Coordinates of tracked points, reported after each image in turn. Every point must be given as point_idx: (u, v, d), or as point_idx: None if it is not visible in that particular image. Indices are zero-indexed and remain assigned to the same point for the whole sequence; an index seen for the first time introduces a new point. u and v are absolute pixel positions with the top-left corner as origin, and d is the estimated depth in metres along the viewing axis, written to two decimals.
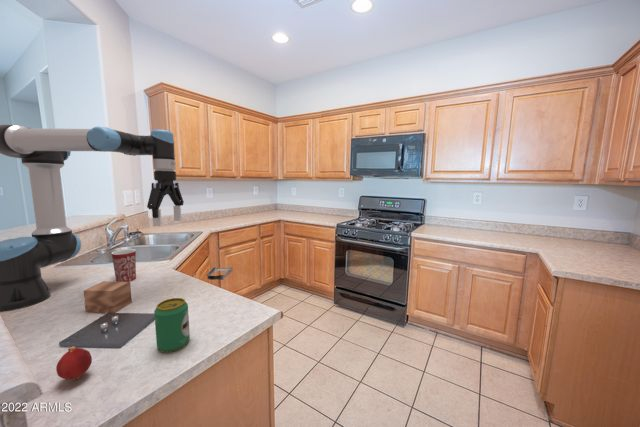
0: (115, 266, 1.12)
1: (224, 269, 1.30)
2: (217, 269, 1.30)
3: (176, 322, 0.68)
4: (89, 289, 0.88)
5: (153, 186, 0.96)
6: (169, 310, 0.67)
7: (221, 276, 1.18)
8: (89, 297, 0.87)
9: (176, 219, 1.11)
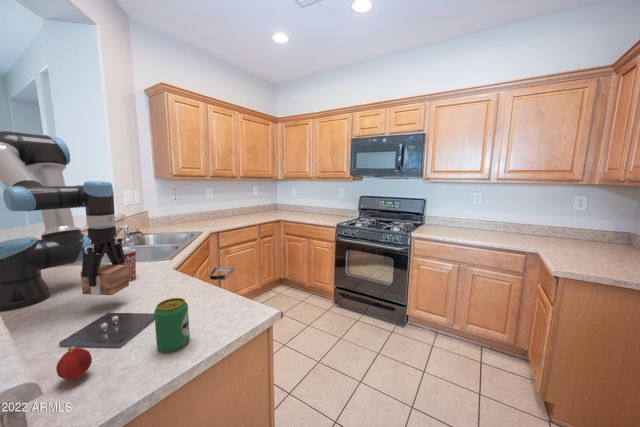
0: None
1: (225, 269, 1.30)
2: (218, 269, 1.30)
3: (176, 322, 0.68)
4: None
5: (84, 252, 0.83)
6: (169, 310, 0.67)
7: (223, 276, 1.18)
8: (86, 278, 0.87)
9: None
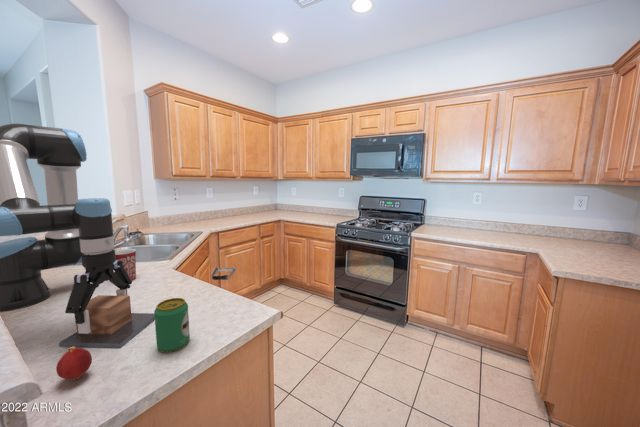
0: None
1: (227, 269, 1.30)
2: (220, 269, 1.30)
3: (176, 322, 0.68)
4: None
5: (76, 280, 0.69)
6: (169, 310, 0.67)
7: (226, 276, 1.18)
8: None
9: None
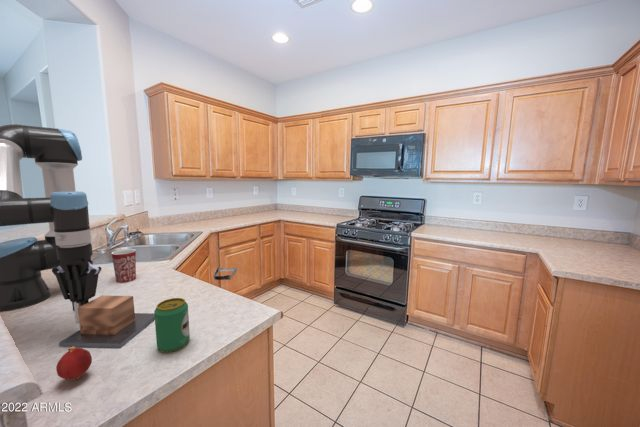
0: (115, 266, 1.12)
1: (228, 269, 1.30)
2: (221, 269, 1.30)
3: (176, 322, 0.68)
4: (85, 307, 0.73)
5: None
6: (169, 310, 0.67)
7: (228, 276, 1.18)
8: (85, 316, 0.73)
9: None
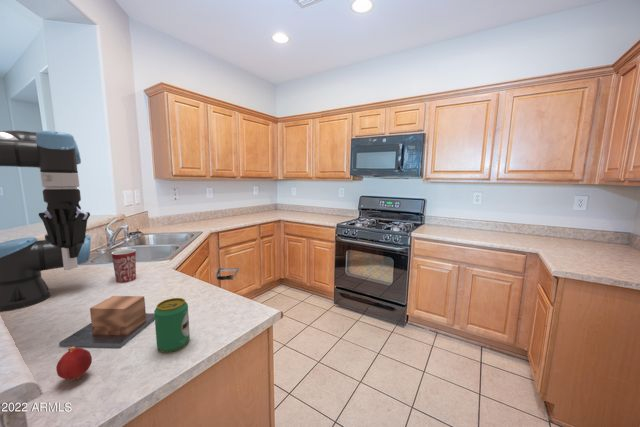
0: (115, 266, 1.12)
1: (230, 269, 1.30)
2: (223, 270, 1.30)
3: (176, 322, 0.68)
4: (97, 307, 0.73)
5: None
6: (169, 310, 0.67)
7: (231, 276, 1.18)
8: (97, 316, 0.73)
9: None
